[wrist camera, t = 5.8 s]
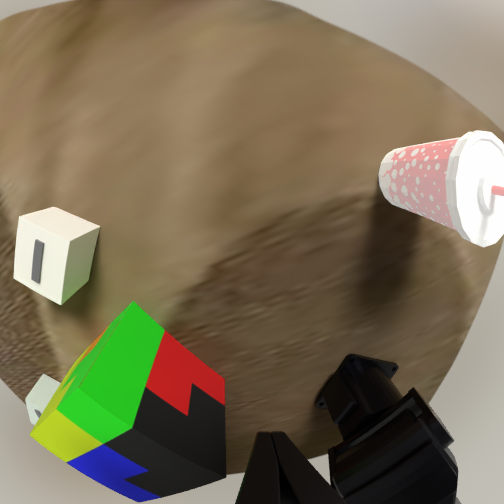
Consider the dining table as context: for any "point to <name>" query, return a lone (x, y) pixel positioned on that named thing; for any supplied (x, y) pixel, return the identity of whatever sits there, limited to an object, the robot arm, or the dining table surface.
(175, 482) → the puzzle toy
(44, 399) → the digit block seven
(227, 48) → the dining table surface
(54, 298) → the digit block one
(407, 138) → the dining table surface
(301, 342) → the dining table surface
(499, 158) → the beverage cup
